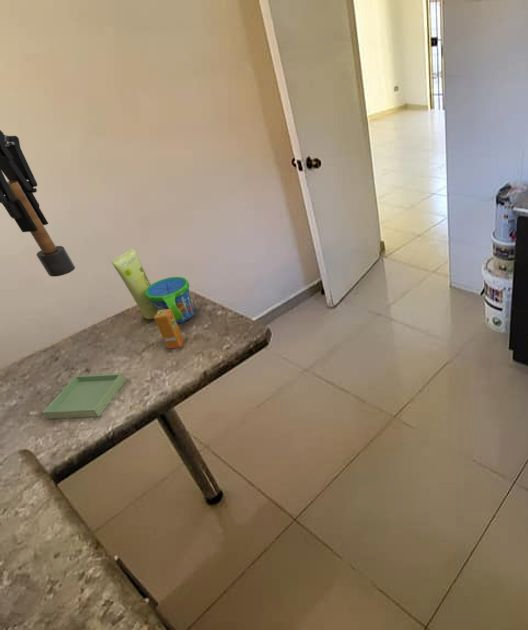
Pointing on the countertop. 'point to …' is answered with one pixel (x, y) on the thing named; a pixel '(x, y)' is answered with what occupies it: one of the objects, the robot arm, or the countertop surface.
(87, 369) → the countertop surface
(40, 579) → the countertop surface
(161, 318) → the supplement box
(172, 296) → the snack cup
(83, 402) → the tray
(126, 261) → the tube
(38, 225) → the brush
